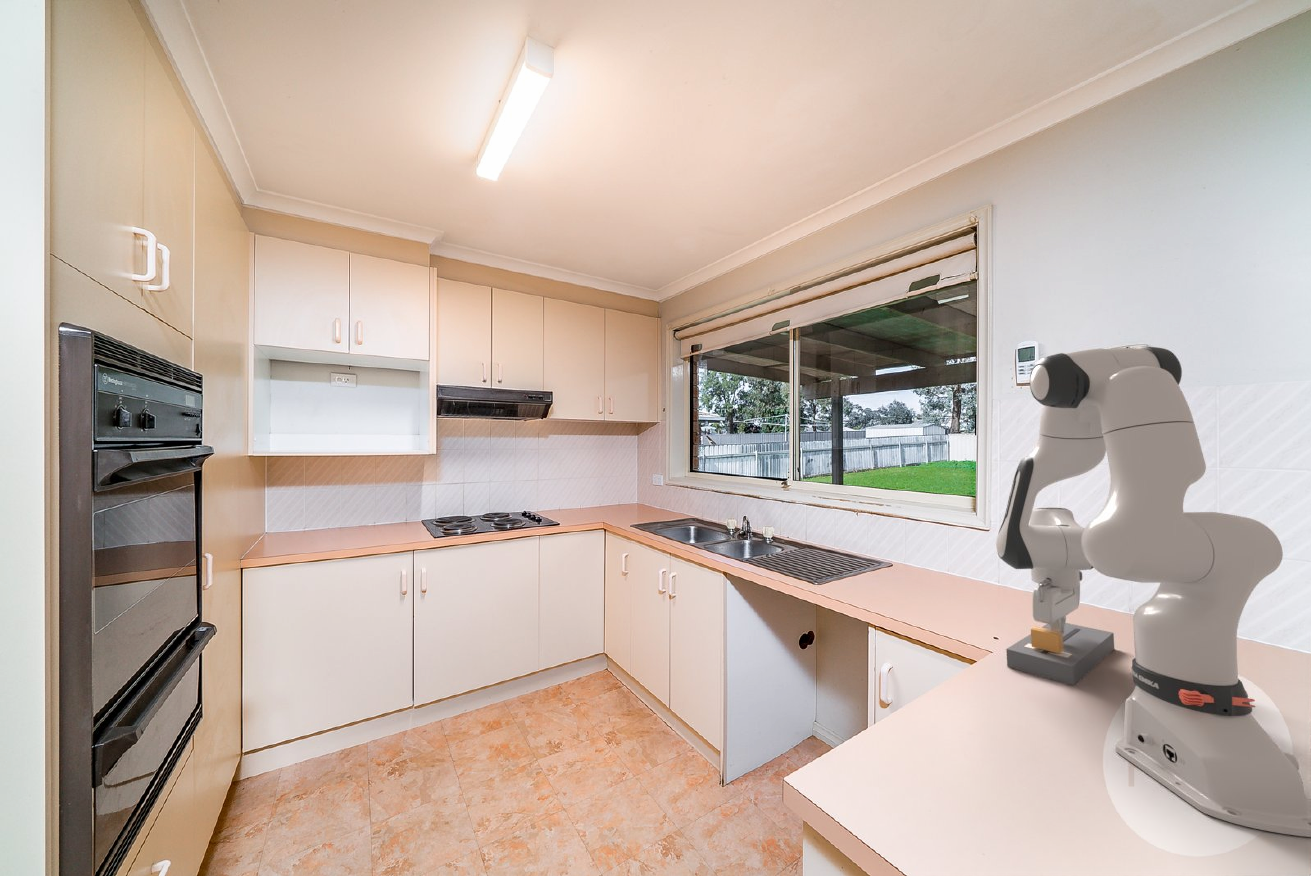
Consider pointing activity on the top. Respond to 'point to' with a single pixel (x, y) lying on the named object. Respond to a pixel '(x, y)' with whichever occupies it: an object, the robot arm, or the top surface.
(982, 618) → the top surface
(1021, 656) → the fader console
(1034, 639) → the fader knob
